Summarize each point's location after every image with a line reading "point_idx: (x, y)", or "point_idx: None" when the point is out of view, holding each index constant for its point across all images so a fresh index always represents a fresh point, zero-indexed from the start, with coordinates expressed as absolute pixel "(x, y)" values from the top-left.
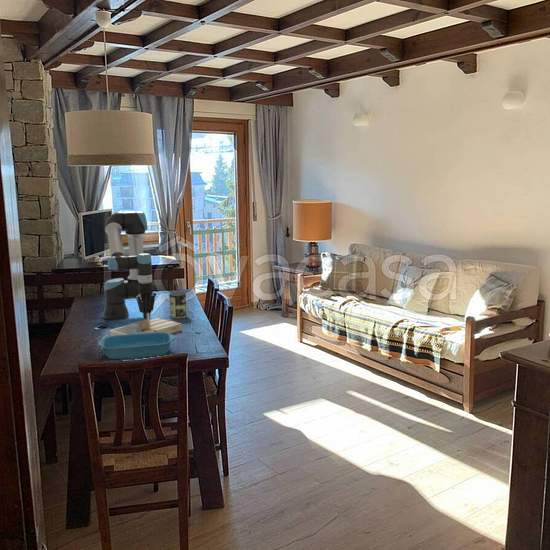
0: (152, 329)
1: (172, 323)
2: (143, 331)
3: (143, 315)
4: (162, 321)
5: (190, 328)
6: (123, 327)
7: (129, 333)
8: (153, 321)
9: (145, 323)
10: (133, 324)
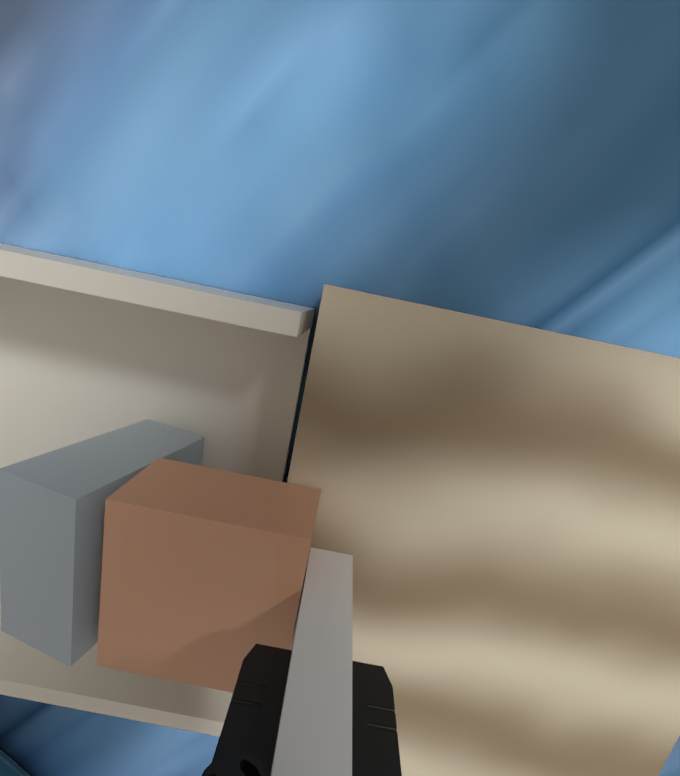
0: (203, 727)
1: (594, 743)
2: None
3: (222, 729)
4: (656, 585)
5: (675, 756)
6: (82, 292)
7: (190, 350)
8: (616, 470)
9: (195, 679)
10: (43, 549)
